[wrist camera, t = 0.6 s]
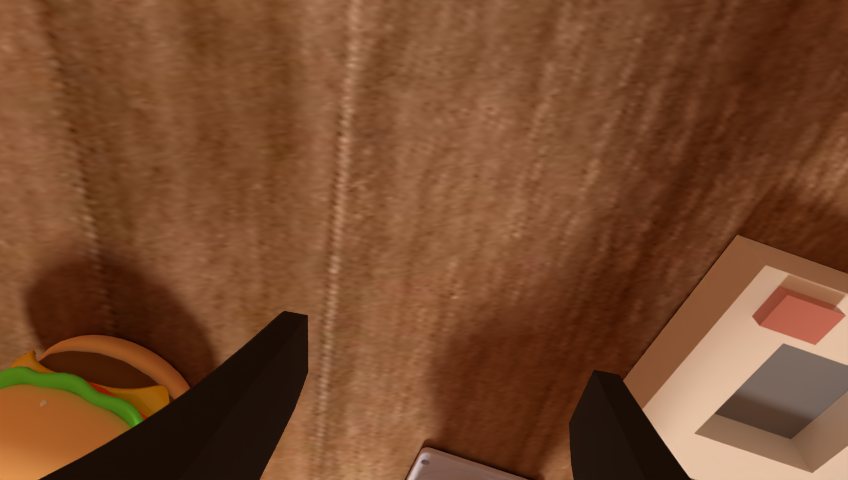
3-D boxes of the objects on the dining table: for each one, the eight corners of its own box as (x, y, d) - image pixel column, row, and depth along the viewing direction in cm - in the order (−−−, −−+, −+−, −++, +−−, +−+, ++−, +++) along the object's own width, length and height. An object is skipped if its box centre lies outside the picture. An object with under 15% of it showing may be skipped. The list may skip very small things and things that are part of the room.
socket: (797, 478, 26) (830, 533, 23) (598, 411, 26) (609, 460, 23) (993, 325, 20) (1067, 376, 17) (736, 234, 20) (773, 273, 17)
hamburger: (218, 465, 33) (139, 605, 26) (57, 420, 33) (-69, 548, 26) (219, 345, 27) (116, 484, 20) (22, 291, 27) (-155, 410, 20)
